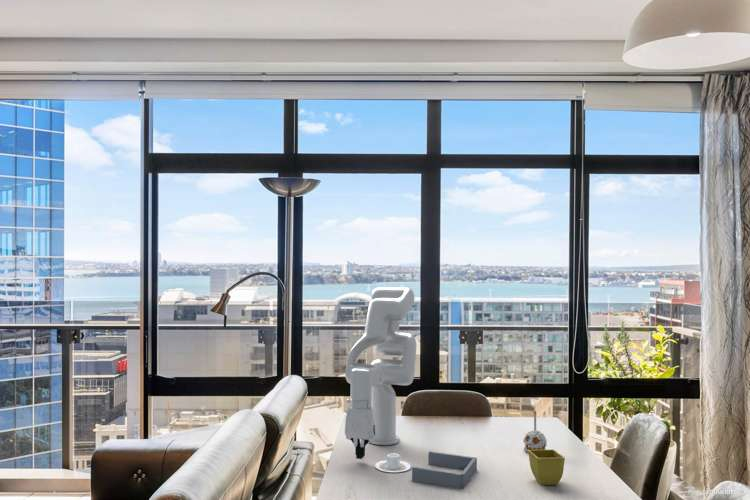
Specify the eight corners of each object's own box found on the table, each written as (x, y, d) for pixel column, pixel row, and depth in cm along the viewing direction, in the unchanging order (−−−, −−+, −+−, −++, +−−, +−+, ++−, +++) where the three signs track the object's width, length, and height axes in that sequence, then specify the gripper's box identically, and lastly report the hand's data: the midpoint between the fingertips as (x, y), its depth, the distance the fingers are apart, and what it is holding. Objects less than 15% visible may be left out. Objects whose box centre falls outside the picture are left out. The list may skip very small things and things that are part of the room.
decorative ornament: (520, 452, 205) (520, 411, 205) (530, 447, 210) (530, 407, 211) (540, 457, 199) (540, 414, 200) (550, 452, 205) (549, 411, 206)
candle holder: (380, 475, 180) (380, 462, 180) (370, 463, 192) (371, 450, 192) (415, 472, 183) (415, 459, 183) (404, 461, 195) (404, 448, 195)
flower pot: (527, 477, 179) (527, 449, 179) (554, 477, 179) (553, 448, 180) (538, 488, 170) (537, 458, 170) (565, 487, 171) (565, 457, 171)
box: (412, 480, 175) (412, 467, 175) (429, 462, 192) (429, 451, 192) (463, 488, 169) (463, 475, 169) (476, 469, 185) (476, 457, 185)
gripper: (336, 403, 192) (335, 458, 191) (376, 408, 187) (375, 464, 185) (346, 399, 199) (345, 452, 198) (385, 403, 193) (384, 457, 192)
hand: (360, 457), depth 192 cm, fingers closed
